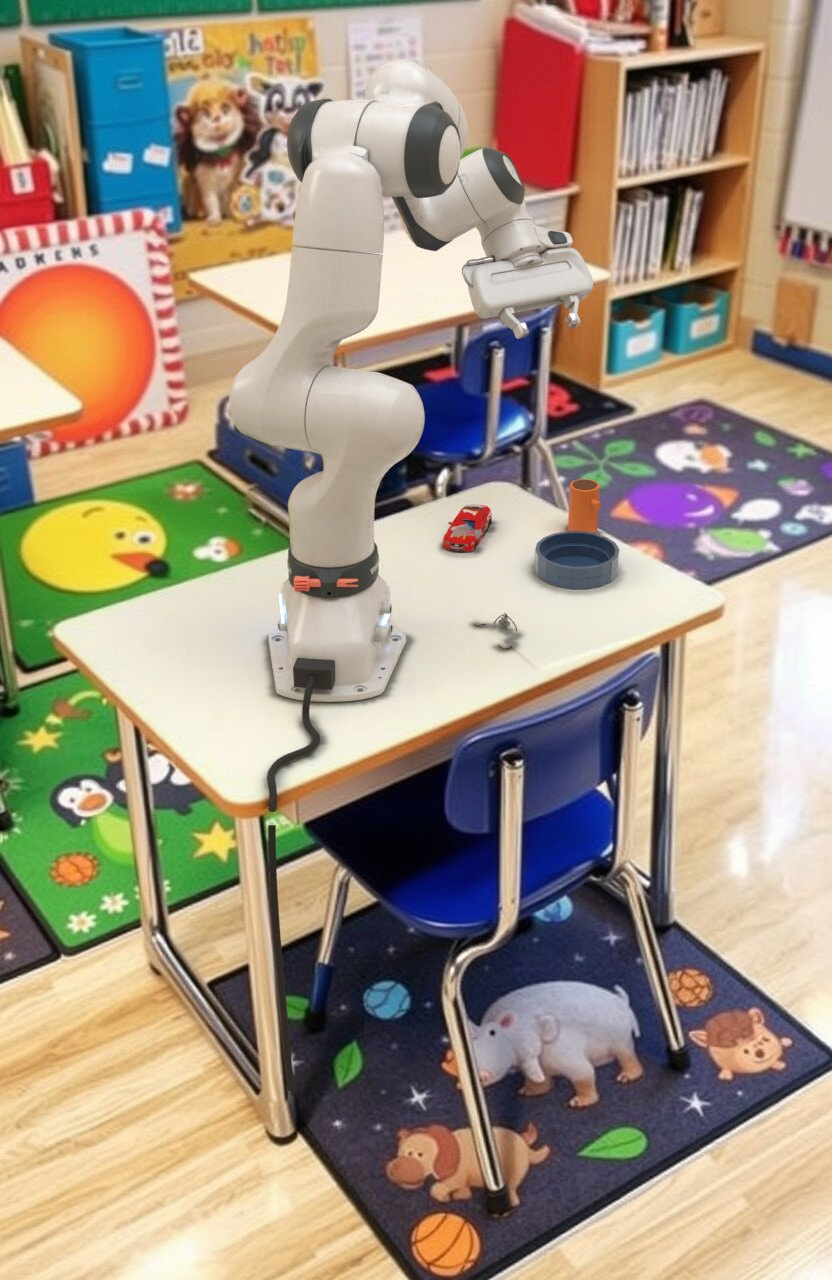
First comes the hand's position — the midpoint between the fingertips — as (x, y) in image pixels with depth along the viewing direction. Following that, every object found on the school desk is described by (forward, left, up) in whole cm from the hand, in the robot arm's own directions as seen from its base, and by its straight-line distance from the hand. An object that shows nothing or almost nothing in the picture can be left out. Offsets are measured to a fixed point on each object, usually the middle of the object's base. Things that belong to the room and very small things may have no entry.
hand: (549, 331), depth 213 cm
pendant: (-41, +8, -30) cm, 52 cm away
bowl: (-23, -4, -29) cm, 38 cm away
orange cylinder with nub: (-9, -6, -29) cm, 31 cm away
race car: (-11, +12, -30) cm, 34 cm away
